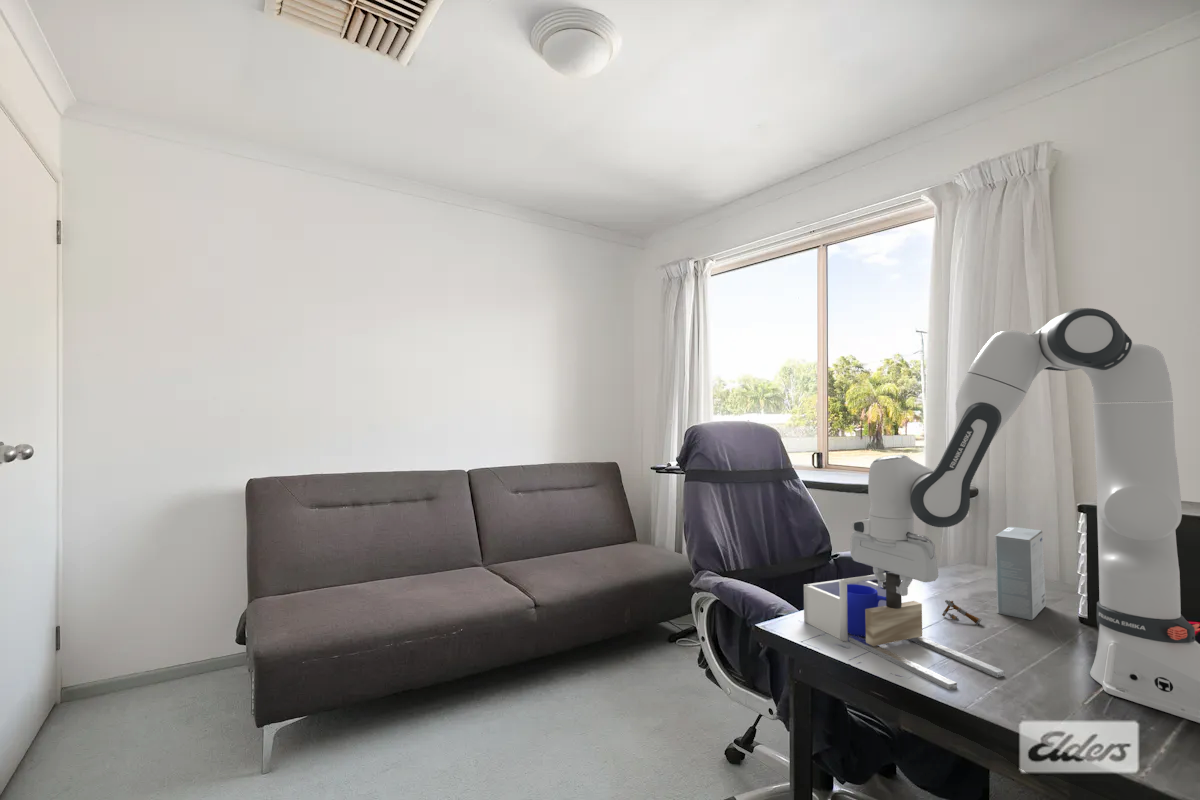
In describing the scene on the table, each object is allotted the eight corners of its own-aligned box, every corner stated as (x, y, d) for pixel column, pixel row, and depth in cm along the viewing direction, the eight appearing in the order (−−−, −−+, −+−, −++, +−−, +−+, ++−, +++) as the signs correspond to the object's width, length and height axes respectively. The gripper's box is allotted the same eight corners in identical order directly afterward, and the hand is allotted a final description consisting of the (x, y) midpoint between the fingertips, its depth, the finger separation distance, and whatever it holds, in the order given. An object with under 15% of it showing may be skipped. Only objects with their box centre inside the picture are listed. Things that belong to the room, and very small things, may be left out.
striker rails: (1004, 675, 110) (1004, 670, 110) (949, 689, 104) (949, 684, 105) (898, 631, 132) (898, 627, 132) (849, 641, 127) (849, 636, 127)
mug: (891, 646, 123) (890, 600, 123) (834, 633, 131) (833, 590, 132) (901, 635, 129) (900, 591, 130) (847, 623, 137) (845, 582, 138)
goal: (902, 630, 133) (901, 572, 133) (843, 641, 127) (843, 580, 127) (858, 612, 145) (857, 558, 145) (803, 621, 139) (802, 565, 139)
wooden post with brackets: (939, 611, 143) (947, 596, 142) (973, 632, 138) (982, 617, 137) (937, 613, 142) (945, 598, 141) (972, 634, 136) (980, 619, 135)
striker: (924, 637, 126) (923, 572, 126) (875, 647, 121) (874, 579, 121) (912, 632, 129) (911, 569, 129) (863, 641, 123) (862, 576, 124)
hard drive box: (1010, 599, 154) (1009, 526, 155) (1046, 606, 149) (1044, 530, 149) (995, 613, 144) (994, 534, 144) (1033, 621, 138) (1031, 539, 139)
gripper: (944, 536, 117) (946, 604, 116) (865, 519, 136) (866, 577, 136) (922, 539, 115) (924, 608, 114) (845, 521, 134) (846, 580, 133)
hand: (892, 591), depth 125 cm, fingers open, 3 cm apart
